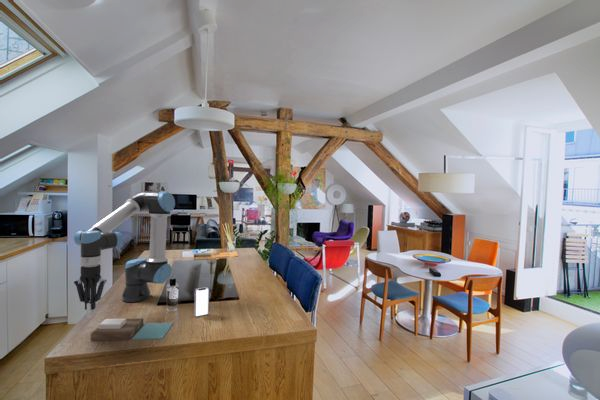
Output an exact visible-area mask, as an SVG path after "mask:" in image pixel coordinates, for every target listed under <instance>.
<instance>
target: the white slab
mask: <svg viewBox="0 0 600 400" xmlns="http://www.w3.org/2000/svg"><path fill="white" fill-rule="evenodd" d="M126 319H127V318H105V319H104V320H102V321H101V322H100V323H99V324H98V327H99V329H120V328H121V327H122V326H123V325H124V324H125V323H126Z"/></svg>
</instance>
